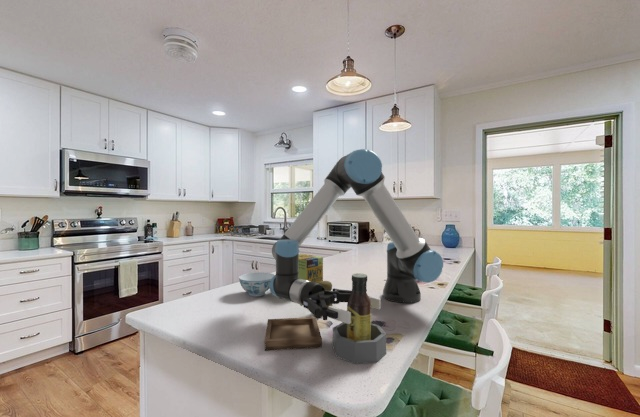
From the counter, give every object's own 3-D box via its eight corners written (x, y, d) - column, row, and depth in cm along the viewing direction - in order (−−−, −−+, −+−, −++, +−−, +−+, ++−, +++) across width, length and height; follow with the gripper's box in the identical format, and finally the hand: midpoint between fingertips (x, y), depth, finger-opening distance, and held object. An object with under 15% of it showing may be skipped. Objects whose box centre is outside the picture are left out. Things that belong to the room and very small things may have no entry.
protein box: (306, 297, 120) (306, 260, 120) (282, 290, 131) (282, 255, 131) (323, 292, 128) (323, 257, 128) (299, 285, 139) (299, 253, 138)
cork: (331, 316, 100) (331, 284, 100) (314, 314, 101) (314, 283, 101) (334, 309, 106) (334, 279, 106) (318, 308, 107) (318, 279, 107)
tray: (315, 324, 92) (315, 316, 92) (321, 347, 78) (321, 338, 78) (267, 327, 91) (267, 319, 91) (264, 350, 76) (264, 341, 76)
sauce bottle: (344, 344, 79) (344, 271, 79) (367, 343, 80) (367, 271, 80) (349, 356, 73) (349, 277, 73) (373, 355, 73) (373, 277, 73)
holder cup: (374, 337, 84) (375, 320, 84) (391, 361, 71) (391, 340, 71) (330, 339, 82) (330, 322, 82) (339, 364, 69) (339, 344, 69)
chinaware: (231, 296, 122) (231, 278, 122) (255, 287, 135) (254, 271, 135) (259, 301, 115) (259, 282, 115) (281, 291, 128) (281, 274, 128)
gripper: (334, 296, 98) (390, 312, 84) (275, 317, 80) (334, 341, 65) (334, 274, 98) (390, 286, 84) (275, 290, 80) (334, 308, 65)
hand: (366, 310), depth 74 cm, fingers open, 13 cm apart
